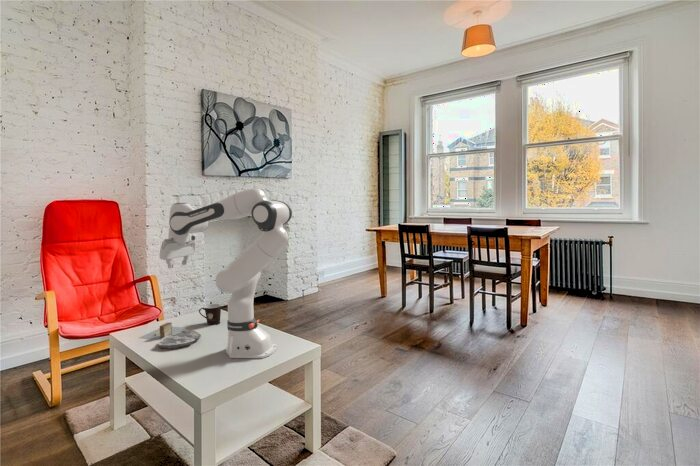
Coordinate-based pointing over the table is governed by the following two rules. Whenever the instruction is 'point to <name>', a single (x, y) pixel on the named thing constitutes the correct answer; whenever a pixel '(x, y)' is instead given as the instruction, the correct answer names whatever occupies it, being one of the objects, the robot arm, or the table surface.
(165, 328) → the walnut block
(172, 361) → the table surface
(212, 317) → the coffee mug
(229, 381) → the table surface
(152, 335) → the rubber mat
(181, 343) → the brain slice
